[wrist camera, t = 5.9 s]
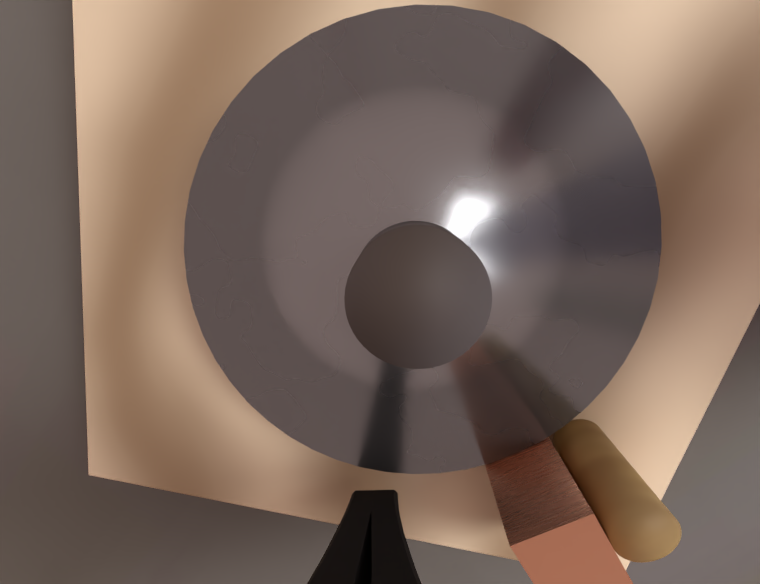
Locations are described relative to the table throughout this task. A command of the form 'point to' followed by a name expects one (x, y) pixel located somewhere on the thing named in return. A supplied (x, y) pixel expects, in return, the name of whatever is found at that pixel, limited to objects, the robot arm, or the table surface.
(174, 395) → the base plate
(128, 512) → the table surface
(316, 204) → the flange
